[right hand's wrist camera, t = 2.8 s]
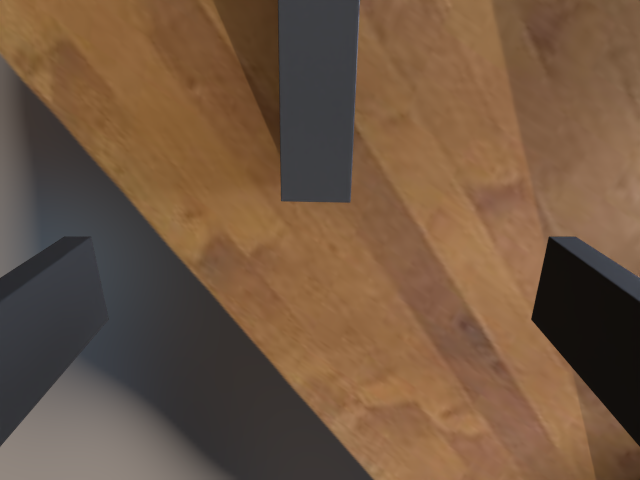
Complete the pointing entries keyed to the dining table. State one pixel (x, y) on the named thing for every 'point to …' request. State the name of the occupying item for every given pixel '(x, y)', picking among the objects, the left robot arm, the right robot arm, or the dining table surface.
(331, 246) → the dining table surface
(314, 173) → the bar
